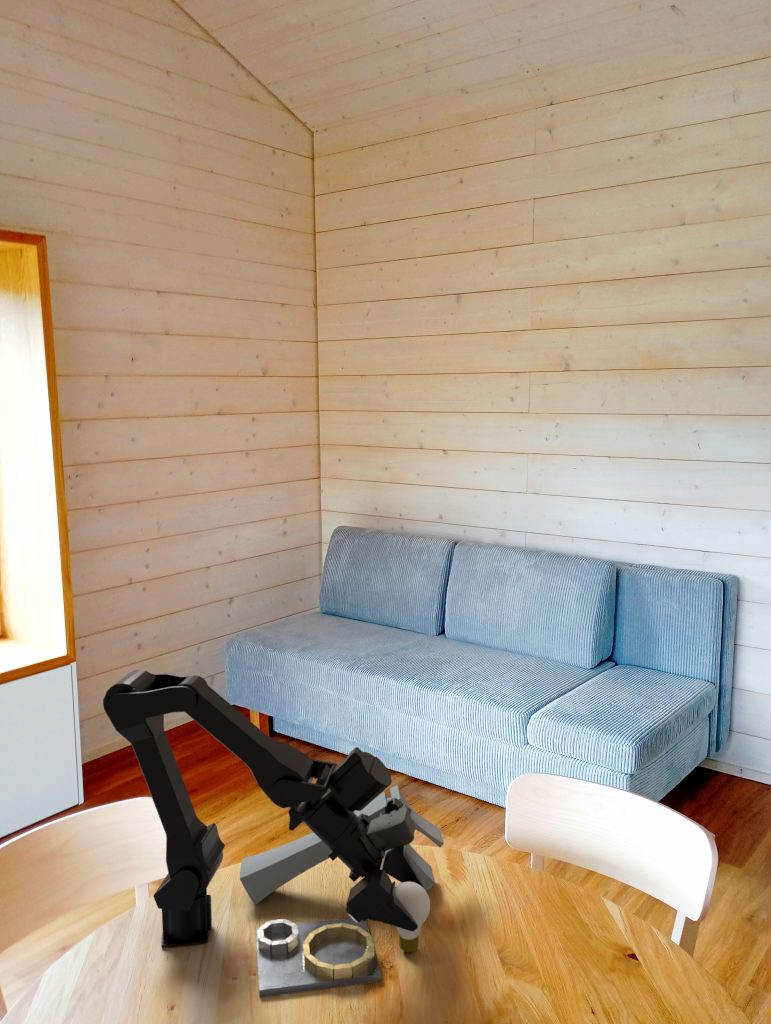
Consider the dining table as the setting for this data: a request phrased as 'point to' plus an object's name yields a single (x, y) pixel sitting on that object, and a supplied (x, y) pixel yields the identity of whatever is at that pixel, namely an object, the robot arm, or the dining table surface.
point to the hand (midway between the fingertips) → (418, 908)
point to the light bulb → (412, 912)
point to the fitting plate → (314, 956)
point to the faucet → (325, 854)
